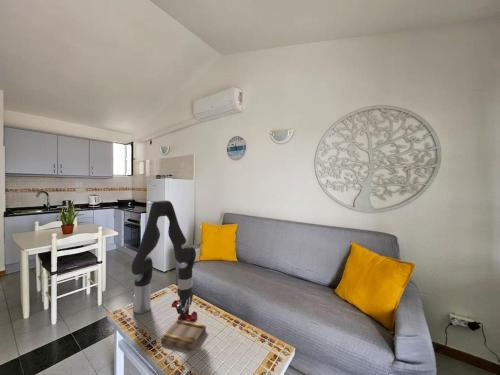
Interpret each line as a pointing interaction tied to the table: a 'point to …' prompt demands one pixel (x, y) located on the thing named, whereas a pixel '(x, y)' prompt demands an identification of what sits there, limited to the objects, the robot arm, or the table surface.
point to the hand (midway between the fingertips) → (184, 316)
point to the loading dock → (184, 335)
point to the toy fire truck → (186, 313)
